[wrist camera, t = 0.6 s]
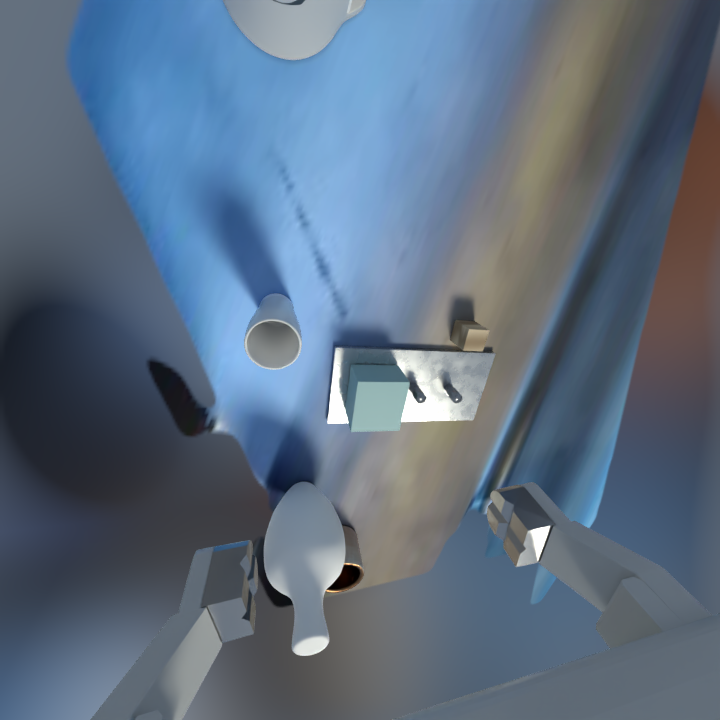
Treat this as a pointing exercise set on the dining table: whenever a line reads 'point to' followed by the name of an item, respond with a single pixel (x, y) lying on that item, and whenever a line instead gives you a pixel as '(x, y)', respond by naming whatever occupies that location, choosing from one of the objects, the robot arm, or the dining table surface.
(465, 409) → the base
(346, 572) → the planter
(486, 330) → the block
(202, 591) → the robot arm
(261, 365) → the drinking glass
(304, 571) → the vase
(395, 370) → the cover
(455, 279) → the dining table surface
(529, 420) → the dining table surface
